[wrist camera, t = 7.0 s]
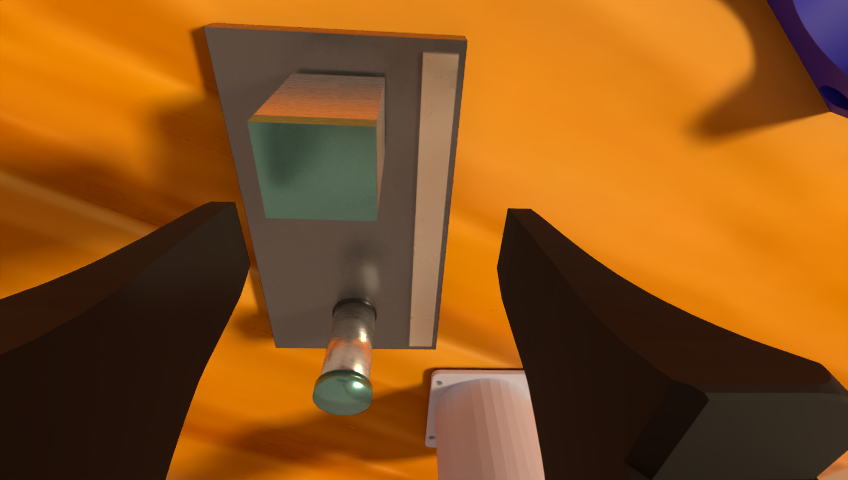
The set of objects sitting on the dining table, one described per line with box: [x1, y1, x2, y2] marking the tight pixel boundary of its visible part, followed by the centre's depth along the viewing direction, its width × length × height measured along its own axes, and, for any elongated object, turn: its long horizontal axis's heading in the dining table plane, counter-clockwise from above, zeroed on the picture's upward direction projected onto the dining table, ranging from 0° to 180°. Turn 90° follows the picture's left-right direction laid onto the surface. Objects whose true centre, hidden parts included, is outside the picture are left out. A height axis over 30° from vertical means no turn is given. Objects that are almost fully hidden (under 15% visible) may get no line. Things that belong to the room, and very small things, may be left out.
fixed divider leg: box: [313, 300, 375, 416], centre depth 22 cm, size 3×3×6 cm
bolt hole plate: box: [204, 23, 467, 349], centre depth 21 cm, size 18×10×1 cm, turn 177°
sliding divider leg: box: [247, 73, 385, 221], centre depth 15 cm, size 3×4×6 cm
